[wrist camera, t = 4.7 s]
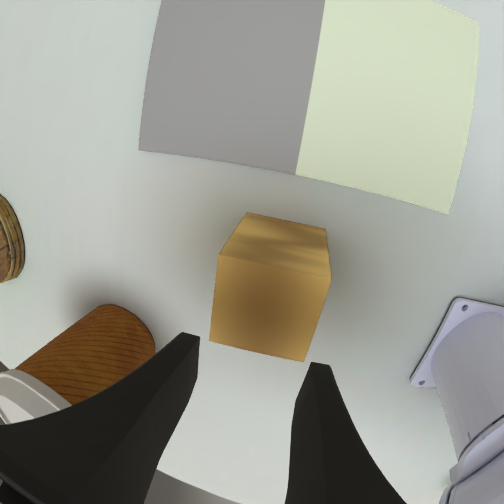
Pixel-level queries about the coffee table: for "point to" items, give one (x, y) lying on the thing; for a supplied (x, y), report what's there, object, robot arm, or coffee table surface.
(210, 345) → the coffee table surface
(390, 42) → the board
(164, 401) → the robot arm
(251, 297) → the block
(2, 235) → the wooden mug
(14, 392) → the disposable coffee cup
